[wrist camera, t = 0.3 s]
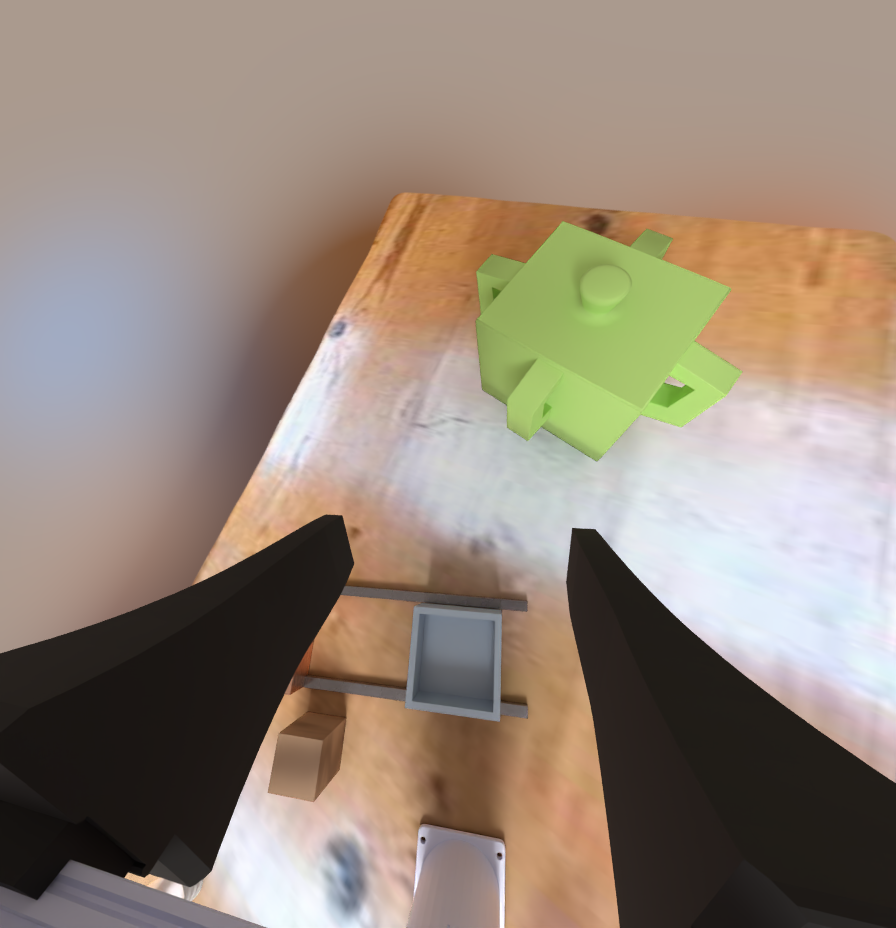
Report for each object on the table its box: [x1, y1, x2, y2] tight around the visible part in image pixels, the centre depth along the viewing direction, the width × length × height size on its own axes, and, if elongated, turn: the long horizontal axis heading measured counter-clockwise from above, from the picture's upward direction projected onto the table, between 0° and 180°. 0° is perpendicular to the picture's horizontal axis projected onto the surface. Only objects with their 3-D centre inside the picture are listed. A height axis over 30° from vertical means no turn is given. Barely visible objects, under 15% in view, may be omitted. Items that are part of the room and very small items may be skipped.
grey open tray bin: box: [405, 603, 502, 722], centre depth 33 cm, size 9×9×5 cm
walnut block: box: [268, 712, 346, 802], centre depth 32 cm, size 4×4×5 cm
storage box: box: [476, 221, 742, 461], centre depth 34 cm, size 25×23×17 cm
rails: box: [285, 586, 528, 718], centre depth 35 cm, size 11×25×3 cm, turn 86°
